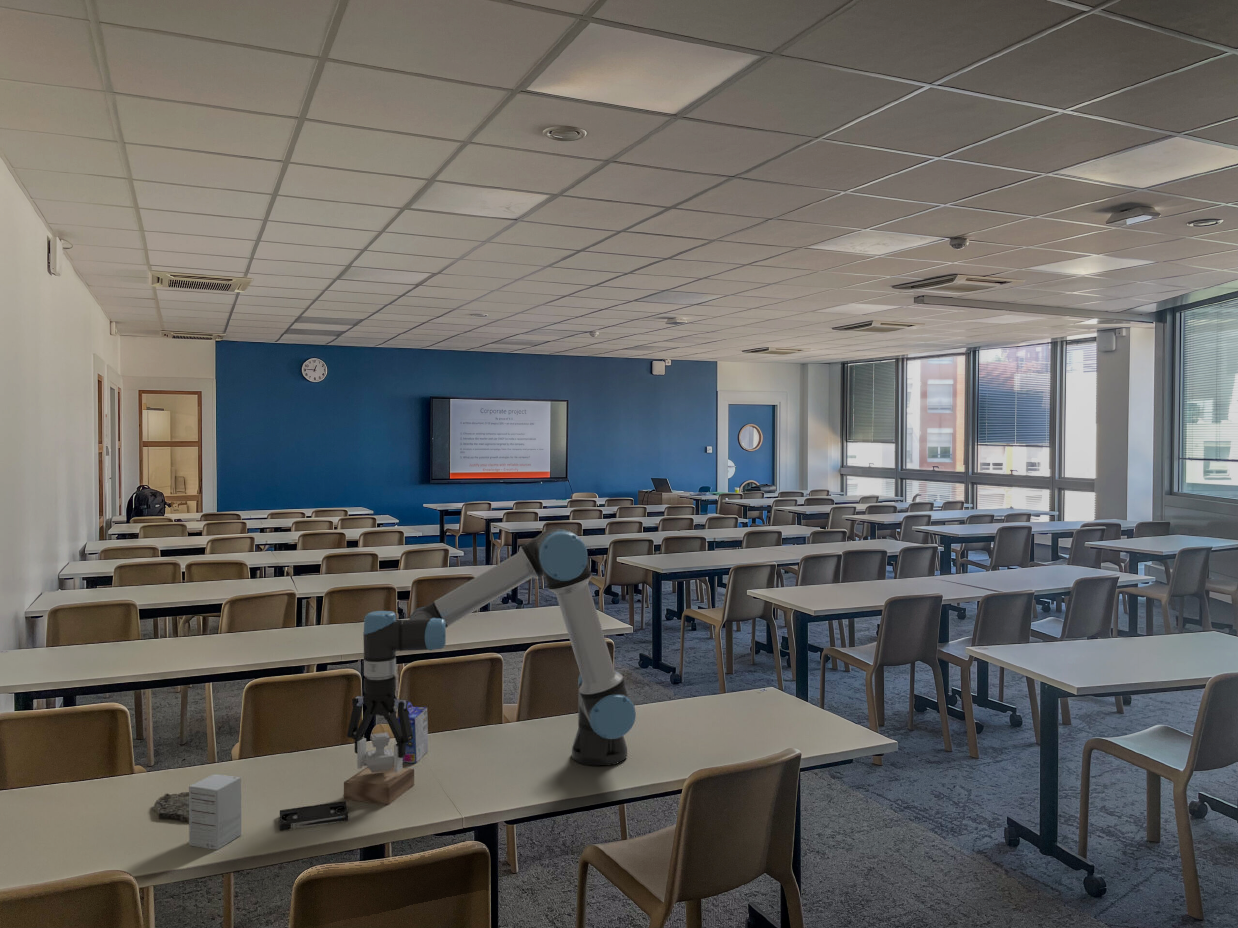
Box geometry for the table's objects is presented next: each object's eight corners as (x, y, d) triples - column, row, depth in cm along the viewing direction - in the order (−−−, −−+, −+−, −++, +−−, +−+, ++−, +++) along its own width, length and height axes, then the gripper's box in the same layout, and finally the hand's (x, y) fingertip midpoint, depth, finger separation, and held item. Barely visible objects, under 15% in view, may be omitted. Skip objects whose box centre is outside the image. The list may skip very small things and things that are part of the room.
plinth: (414, 784, 208) (414, 767, 208) (389, 804, 196) (389, 786, 196) (370, 780, 211) (370, 763, 211) (343, 798, 199) (343, 781, 199)
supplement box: (214, 830, 182) (214, 772, 182) (242, 835, 180) (242, 776, 180) (187, 845, 175) (187, 785, 175) (216, 850, 173) (216, 789, 173)
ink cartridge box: (409, 749, 233) (409, 697, 233) (428, 750, 232) (428, 698, 232) (396, 762, 223) (396, 708, 223) (416, 763, 222) (416, 709, 222)
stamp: (397, 762, 208) (397, 728, 208) (400, 771, 202) (400, 736, 202) (359, 767, 205) (359, 732, 205) (361, 776, 199) (361, 741, 199)
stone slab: (179, 796, 202) (178, 784, 202) (236, 804, 197) (236, 791, 197) (135, 818, 190) (135, 805, 190) (195, 827, 185) (195, 813, 185)
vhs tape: (279, 833, 182) (279, 824, 182) (279, 818, 189) (279, 810, 189) (348, 822, 187) (348, 813, 187) (345, 809, 195) (345, 800, 195)
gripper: (331, 676, 202) (331, 769, 203) (413, 682, 197) (413, 778, 197) (348, 669, 210) (348, 758, 210) (428, 674, 204) (428, 766, 204)
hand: (379, 768), depth 203 cm, fingers closed on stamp, 9 cm apart
